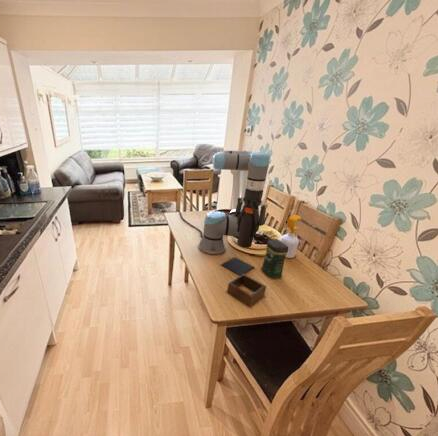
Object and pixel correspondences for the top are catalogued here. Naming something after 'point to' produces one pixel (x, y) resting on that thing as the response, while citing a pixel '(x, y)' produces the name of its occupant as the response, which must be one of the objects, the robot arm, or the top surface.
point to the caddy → (249, 283)
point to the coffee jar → (274, 258)
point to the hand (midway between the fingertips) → (246, 233)
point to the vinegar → (246, 228)
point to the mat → (237, 266)
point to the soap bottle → (291, 237)
